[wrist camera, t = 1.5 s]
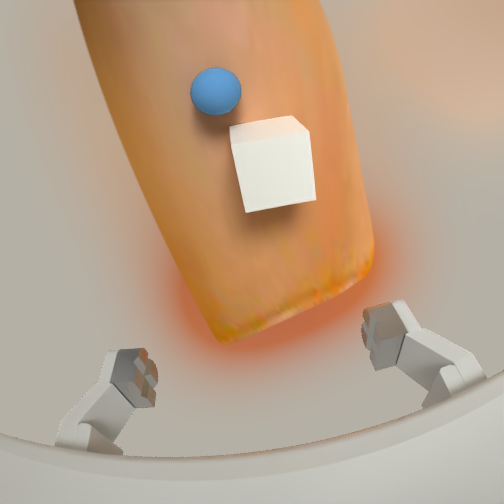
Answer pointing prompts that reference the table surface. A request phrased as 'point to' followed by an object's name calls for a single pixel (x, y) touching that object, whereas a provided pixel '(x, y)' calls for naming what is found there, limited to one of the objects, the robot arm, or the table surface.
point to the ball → (215, 91)
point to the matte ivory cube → (273, 162)
